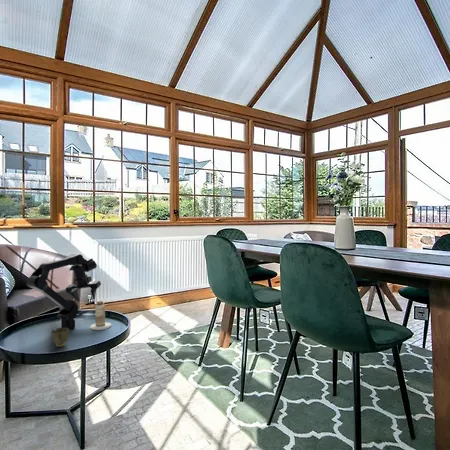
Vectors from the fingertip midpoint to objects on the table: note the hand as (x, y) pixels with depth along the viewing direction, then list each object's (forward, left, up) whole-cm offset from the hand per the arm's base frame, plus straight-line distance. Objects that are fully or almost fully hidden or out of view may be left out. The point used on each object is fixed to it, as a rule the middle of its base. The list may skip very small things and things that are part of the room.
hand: (86, 300), depth 193 cm
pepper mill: (+5, -13, -12) cm, 18 cm away
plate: (+5, -13, -13) cm, 19 cm away
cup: (-17, -33, -13) cm, 39 cm away
